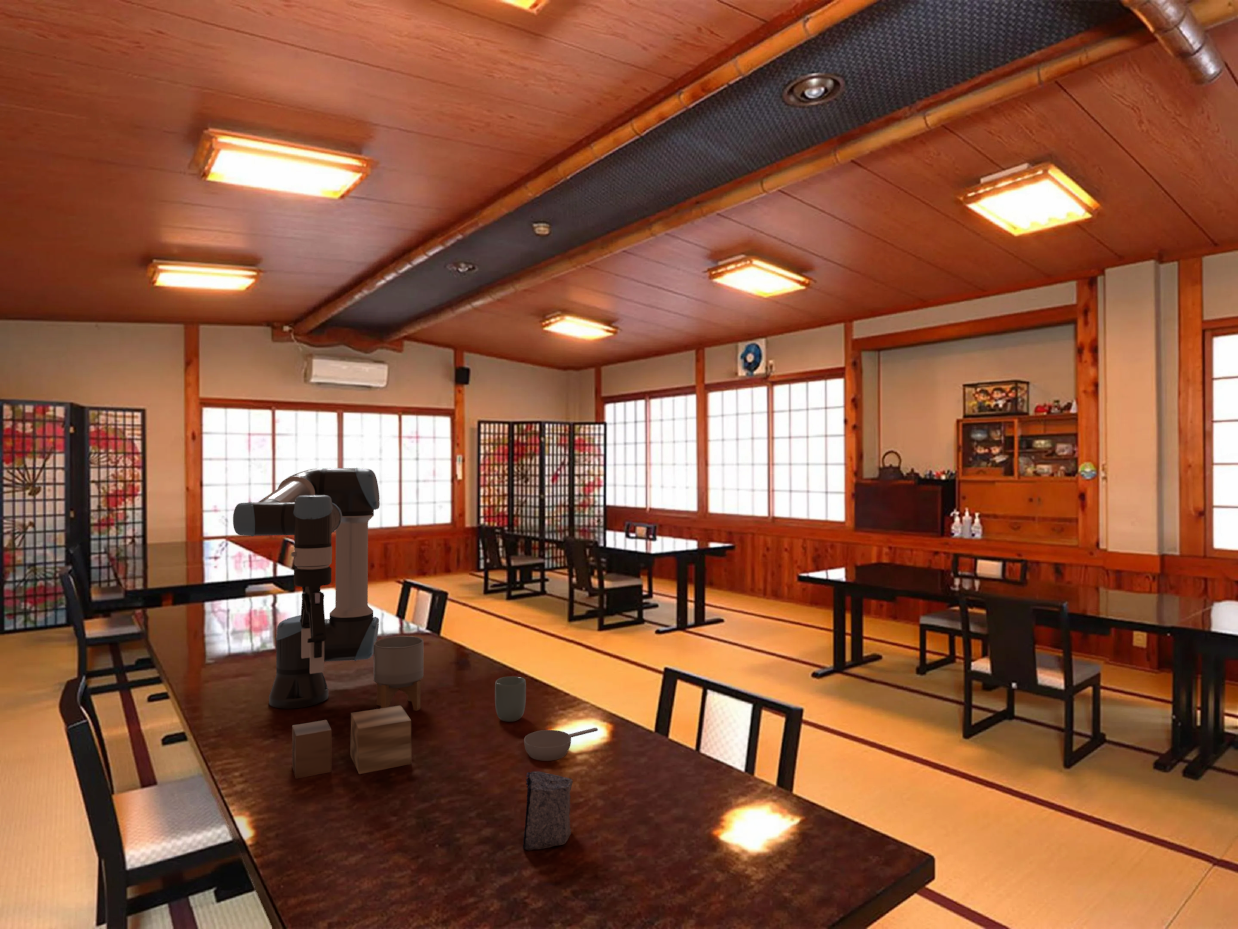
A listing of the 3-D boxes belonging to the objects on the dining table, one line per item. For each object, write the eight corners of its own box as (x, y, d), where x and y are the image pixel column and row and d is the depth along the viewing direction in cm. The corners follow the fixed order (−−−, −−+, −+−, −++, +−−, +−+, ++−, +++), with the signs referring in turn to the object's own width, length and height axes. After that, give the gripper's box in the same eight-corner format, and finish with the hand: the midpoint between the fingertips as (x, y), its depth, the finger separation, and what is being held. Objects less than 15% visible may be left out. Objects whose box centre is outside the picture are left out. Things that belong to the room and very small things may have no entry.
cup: (519, 725, 183) (519, 686, 183) (490, 723, 185) (490, 684, 185) (529, 715, 191) (529, 677, 191) (501, 713, 192) (501, 675, 192)
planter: (432, 702, 201) (432, 638, 201) (404, 717, 188) (404, 649, 188) (393, 697, 205) (393, 634, 205) (362, 712, 193) (363, 645, 193)
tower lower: (350, 757, 164) (350, 735, 164) (399, 748, 169) (399, 726, 169) (359, 775, 154) (359, 752, 154) (411, 765, 160) (411, 742, 160)
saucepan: (517, 749, 168) (517, 733, 168) (587, 736, 177) (587, 720, 177) (533, 767, 159) (534, 749, 159) (607, 752, 167) (607, 735, 167)
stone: (510, 860, 124) (516, 815, 134) (566, 868, 125) (569, 823, 135) (522, 805, 121) (528, 763, 130) (580, 814, 122) (582, 771, 131)
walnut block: (292, 766, 158) (292, 725, 158) (326, 760, 161) (326, 720, 161) (295, 778, 152) (296, 736, 152) (331, 771, 155) (331, 730, 155)
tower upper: (350, 735, 164) (350, 713, 164) (400, 726, 169) (400, 705, 169) (358, 752, 154) (358, 728, 154) (410, 743, 159) (411, 720, 159)
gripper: (287, 560, 165) (287, 653, 165) (301, 575, 144) (300, 682, 144) (322, 558, 169) (322, 649, 169) (341, 572, 148) (340, 676, 148)
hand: (312, 664), depth 157 cm, fingers open, 13 cm apart
